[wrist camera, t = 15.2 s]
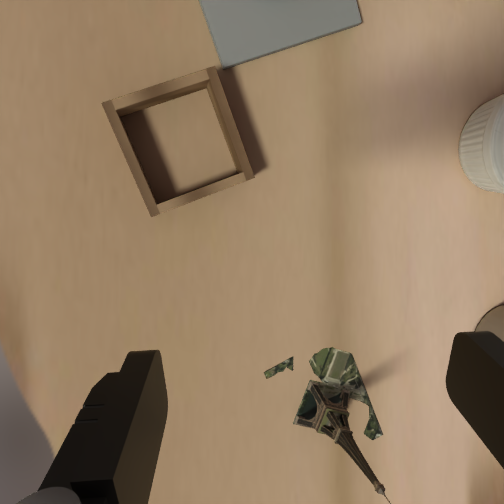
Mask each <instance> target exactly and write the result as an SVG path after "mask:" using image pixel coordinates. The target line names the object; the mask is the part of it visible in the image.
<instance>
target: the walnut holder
mask: <svg viewBox="0 0 504 504" xmlns="http://www.w3.org/2000/svg"><path fill="white" fill-rule="evenodd" d="M205 88H207V90H208V93H209V96H210V99H211V101H212V104H213V107H214V109H215V112H216V115H217V118H218V120H219V123H220V126H221V129H222V131H223V134H224V137H225V139H226V142H227V145H228V148H229V150H230V153H231V156H232V159H233V161H234V164H235V167H236V169H237V172H238V174H236V175H234V176H231V177H228V178H226V179H223V180H221V181H218V182H215V183H213V184H210V185H207V186H205V187H202V188H199V189H197V190H194V191H191V192H189V193H186V194H183V195H181V196H178V197H176V198H173V199H170V200H168V201H165V202H162V203H160V204H157V202H156V199H155V197H154V195H153V192H152V190H151V188H150V185H149V183H148V181H147V178H146V176H145V174H144V171H143V169H142V167H141V164H140V162H139V160H138V157H137V155H136V153H135V150H134V148H133V146H132V143H131V141H130V139H129V136H128V134H127V132H126V129H125V127H124V125H123V122H122V120H121V118H120V117H121V116H124V115H127V114H130V113H133V112H136V111H139V110H142V109H145V108H148V107H151V106H154V105H157V104H160V103H163V102H166V101H169V100H172V99H175V98H178V97H181V96H184V95H187V94H190V93H193V92H196V91H199V90H202V89H205ZM102 106H103V108H104V110H105V113H106V115H107V117H108V119H109V122H110V124H111V126H112V129H113V131H114V133H115V135H116V138H117V140H118V142H119V145H120V147H121V149H122V151H123V154H124V156H125V158H126V161H127V163H128V165H129V168H130V170H131V172H132V174H133V177H134V179H135V181H136V184H137V186H138V188H139V190H140V193H141V195H142V197H143V200H144V202H145V204H146V206H147V209H148V211H149V213H150V216H151V217H153V216H156V215H158V214H161V213H164V212H166V211H169V210H171V209H174V208H177V207H179V206H182V205H184V204H187V203H190V202H192V201H195V200H198V199H200V198H203V197H205V196H208V195H211V194H213V193H216V192H218V191H221V190H224V189H226V188H229V187H231V186H234V185H237V184H239V183H242V182H245V181H247V180H250V179H252V178H255V177H254V174H253V171H252V169H251V166H250V163H249V160H248V157H247V155H246V152H245V149H244V146H243V143H242V141H241V138H240V135H239V132H238V129H237V127H236V124H235V121H234V118H233V115H232V113H231V110H230V107H229V104H228V101H227V99H226V96H225V93H224V90H223V87H222V85H221V82H220V79H219V76H218V73H217V71H216V68H215V66H213V67H210V68H207V69H204V70H201V71H198V72H195V73H192V74H189V75H186V76H183V77H180V78H177V79H174V80H170V81H167V82H164V83H161V84H158V85H155V86H152V87H149V88H146V89H143V90H140V91H137V92H134V93H131V94H127V95H124V96H121V97H118V98H115V99H112V100H109V101H106V102H103V103H102Z"/></svg>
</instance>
